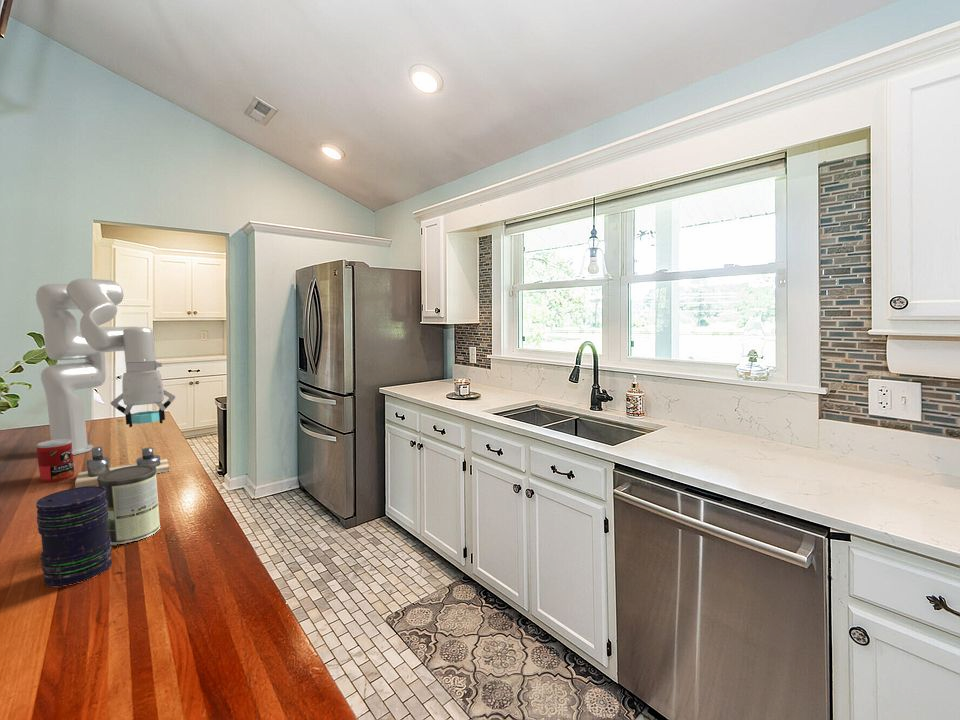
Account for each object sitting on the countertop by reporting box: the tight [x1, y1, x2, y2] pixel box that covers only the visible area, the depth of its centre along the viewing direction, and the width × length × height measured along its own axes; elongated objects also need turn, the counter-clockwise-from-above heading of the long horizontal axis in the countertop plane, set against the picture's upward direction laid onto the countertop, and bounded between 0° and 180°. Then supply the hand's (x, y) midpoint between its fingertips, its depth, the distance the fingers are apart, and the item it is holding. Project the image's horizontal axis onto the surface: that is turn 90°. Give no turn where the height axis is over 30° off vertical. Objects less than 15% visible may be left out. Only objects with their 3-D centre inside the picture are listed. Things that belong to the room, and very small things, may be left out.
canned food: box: [36, 439, 75, 483], centre depth 137 cm, size 8×8×11 cm
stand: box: [86, 446, 111, 477], centre depth 136 cm, size 5×5×8 cm
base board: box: [74, 458, 170, 488], centre depth 140 cm, size 11×22×2 cm, turn 127°
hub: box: [135, 447, 161, 467], centre depth 143 cm, size 6×6×6 cm
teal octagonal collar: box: [131, 410, 160, 425], centre depth 142 cm, size 7×7×2 cm
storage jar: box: [35, 485, 113, 587], centre depth 86 cm, size 10×10×15 cm
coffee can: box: [97, 465, 161, 546], centre depth 101 cm, size 10×10×14 cm
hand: (146, 424), depth 142 cm, fingers closed on teal octagonal collar, 7 cm apart
